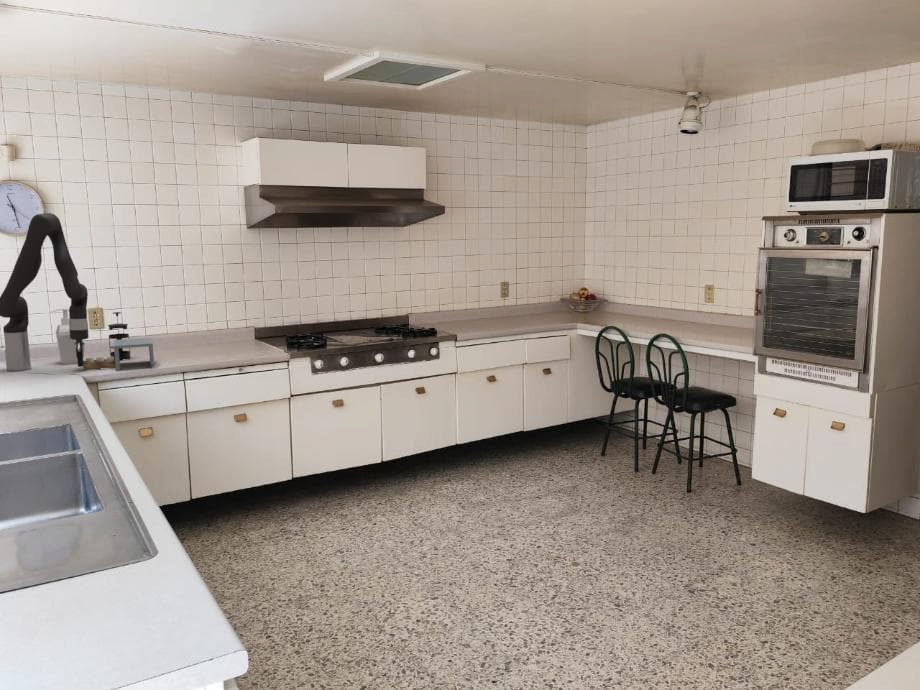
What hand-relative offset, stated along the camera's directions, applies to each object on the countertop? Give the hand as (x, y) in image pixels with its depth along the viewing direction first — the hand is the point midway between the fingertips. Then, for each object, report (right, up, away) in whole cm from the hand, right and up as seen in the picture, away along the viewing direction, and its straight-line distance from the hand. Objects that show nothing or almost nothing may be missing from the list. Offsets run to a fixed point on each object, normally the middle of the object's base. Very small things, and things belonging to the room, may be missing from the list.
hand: (80, 366), depth 333 cm
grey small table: (+20, 0, +9) cm, 23 cm away
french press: (+5, +3, +28) cm, 28 cm away
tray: (+7, -1, +4) cm, 8 cm away
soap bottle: (-16, +1, +18) cm, 24 cm away
